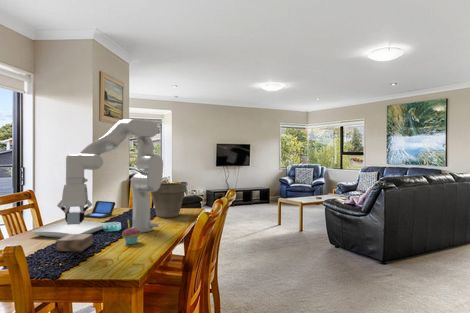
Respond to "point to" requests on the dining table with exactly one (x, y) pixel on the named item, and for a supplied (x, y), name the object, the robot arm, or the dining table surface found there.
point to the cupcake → (131, 234)
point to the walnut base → (74, 242)
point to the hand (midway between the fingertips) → (74, 221)
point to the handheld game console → (102, 210)
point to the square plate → (69, 229)
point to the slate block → (73, 217)
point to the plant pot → (168, 199)
